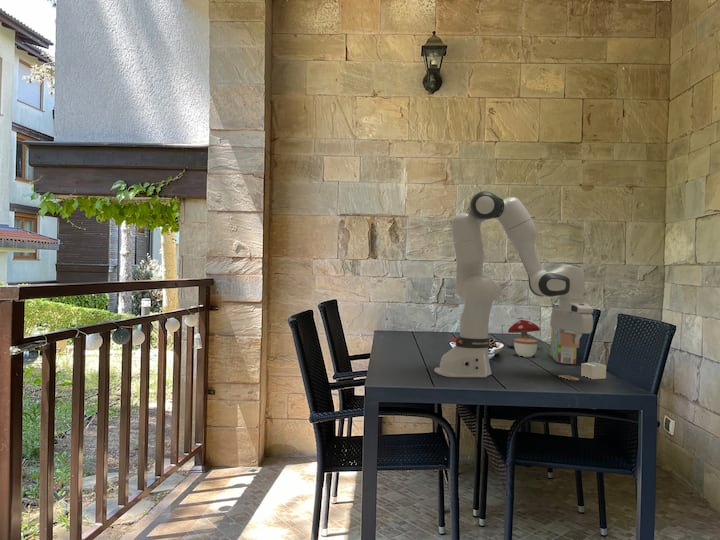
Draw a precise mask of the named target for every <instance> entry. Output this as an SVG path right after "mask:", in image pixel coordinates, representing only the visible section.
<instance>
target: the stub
mask: <svg viewBox="0 0 720 540" xmlns="http://www.w3.org/2000/svg"><path fill="white" fill-rule="evenodd" d="M575 336H576V335H575V334H574V333H560V345H561V346H565V347H569V348H578V349H580V343H579V344H575V343H573V339H575Z"/></svg>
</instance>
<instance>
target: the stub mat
mask: <svg viewBox="0 0 720 540" xmlns="http://www.w3.org/2000/svg"><path fill="white" fill-rule="evenodd" d="M558 376H559V377H558V378H560V377H562V378H561V379H563V378H565V379H564V380H566V379H568V380H567V381H569V380H571V381H580V380H579V379H580V378H577V377H574V376H572V375H568V374H564V375H563V374H560V375H558Z"/></svg>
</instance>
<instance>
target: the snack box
mask: <svg viewBox="0 0 720 540" xmlns="http://www.w3.org/2000/svg"><path fill="white" fill-rule="evenodd" d="M555 305H559V303H552V311H553V307H554V306H555ZM552 311H551V312H552ZM564 333H574V334H575V332H574V331H569V330H565V331H564ZM550 335H551V336H550V357H551V358H552V359H553V360H554V361H555V362H556V363H557V364H564V365H576V364H577V348H569V347H565V346H561V345H560V334H559V332H558V328H554V327H551V333H550Z"/></svg>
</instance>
